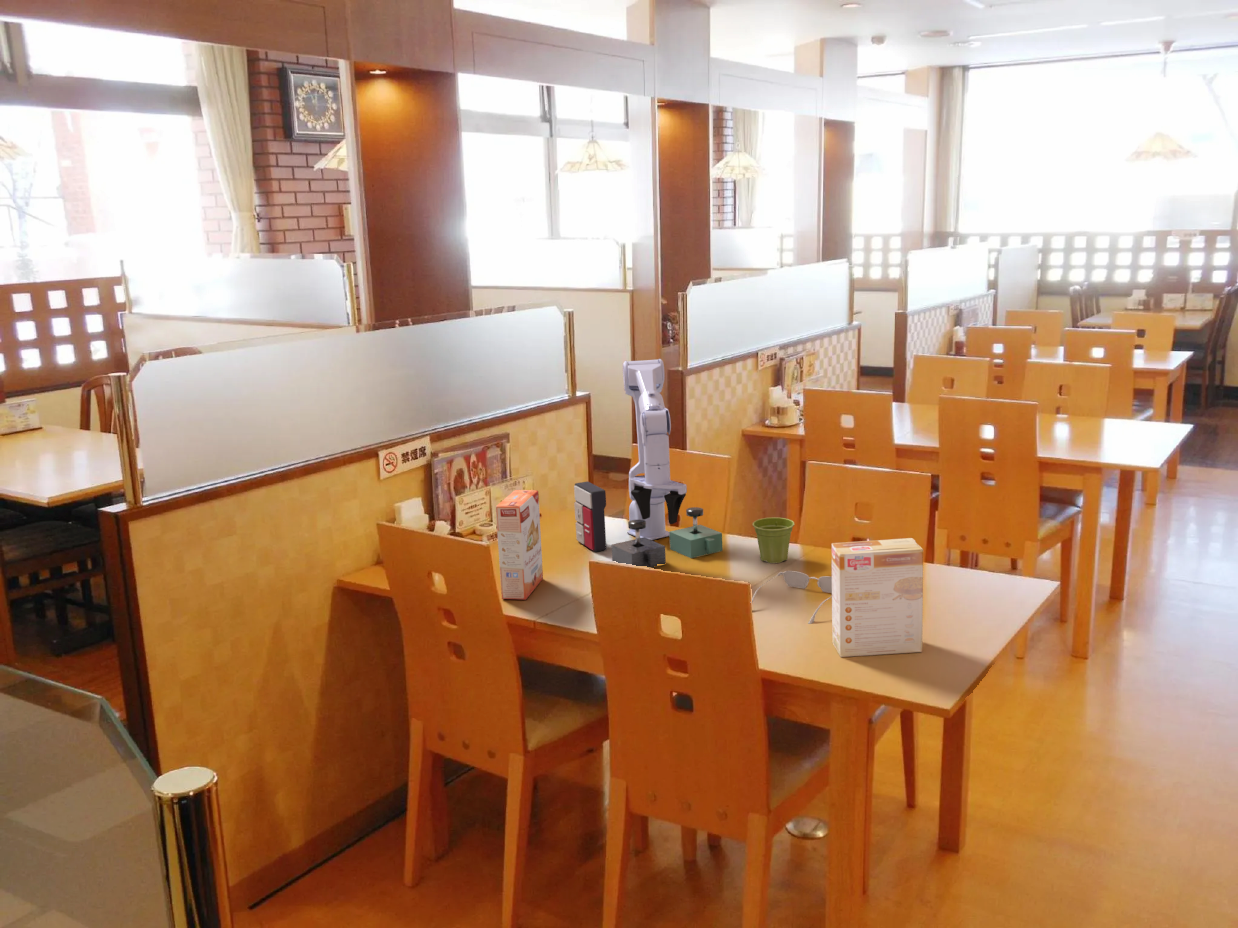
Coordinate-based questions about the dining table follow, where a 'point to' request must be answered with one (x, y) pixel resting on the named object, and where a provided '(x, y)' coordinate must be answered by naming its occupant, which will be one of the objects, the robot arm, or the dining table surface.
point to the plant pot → (773, 538)
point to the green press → (696, 541)
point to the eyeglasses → (804, 584)
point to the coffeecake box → (877, 597)
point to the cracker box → (519, 544)
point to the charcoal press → (639, 553)
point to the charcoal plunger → (637, 529)
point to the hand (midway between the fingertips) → (659, 520)
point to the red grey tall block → (590, 515)
